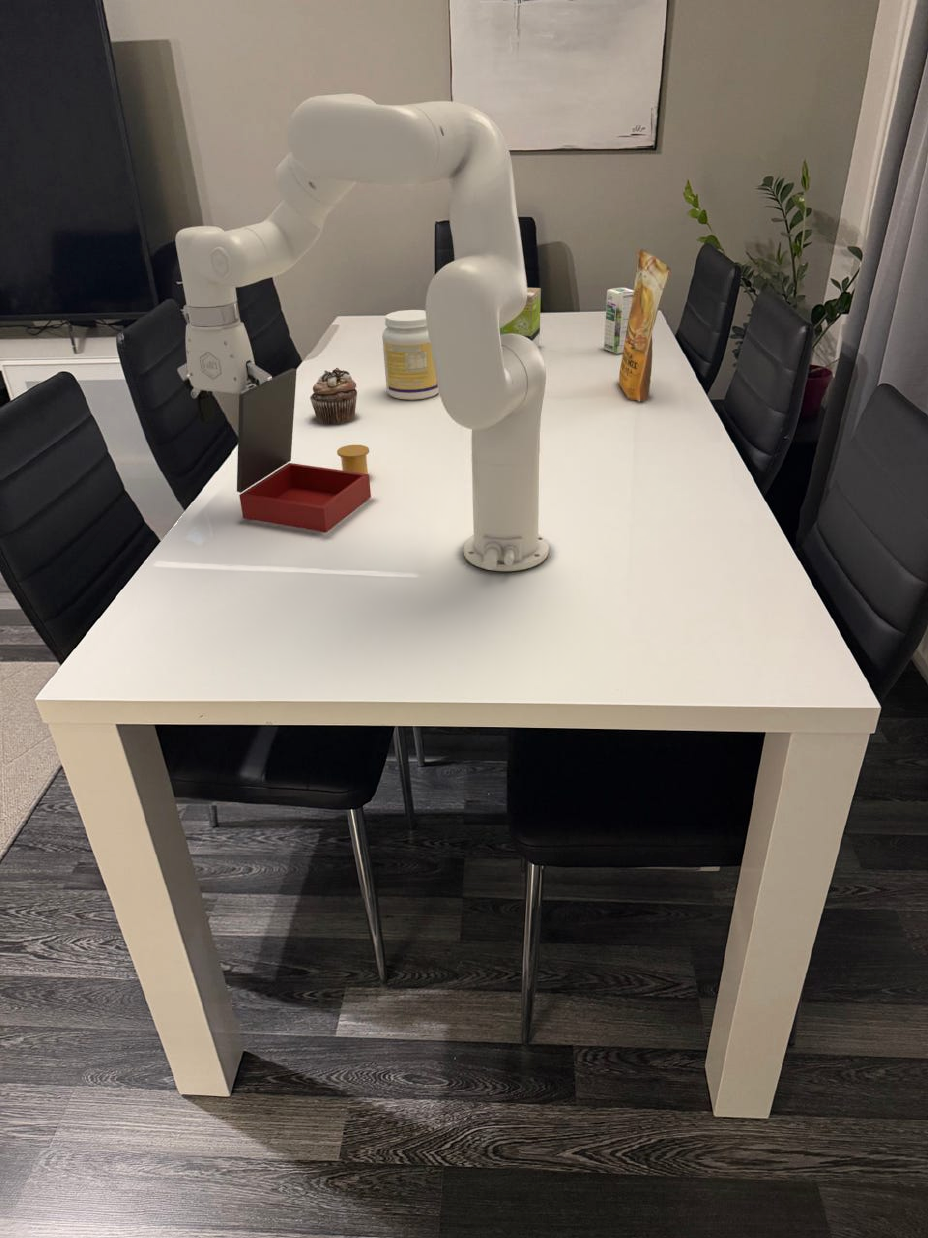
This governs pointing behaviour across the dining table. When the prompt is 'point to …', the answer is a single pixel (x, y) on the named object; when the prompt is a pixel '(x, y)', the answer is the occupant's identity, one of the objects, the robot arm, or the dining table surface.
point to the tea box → (527, 318)
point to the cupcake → (334, 398)
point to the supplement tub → (408, 356)
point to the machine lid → (265, 429)
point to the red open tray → (306, 497)
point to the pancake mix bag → (642, 325)
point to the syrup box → (617, 318)
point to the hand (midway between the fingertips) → (232, 423)
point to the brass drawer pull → (354, 458)
